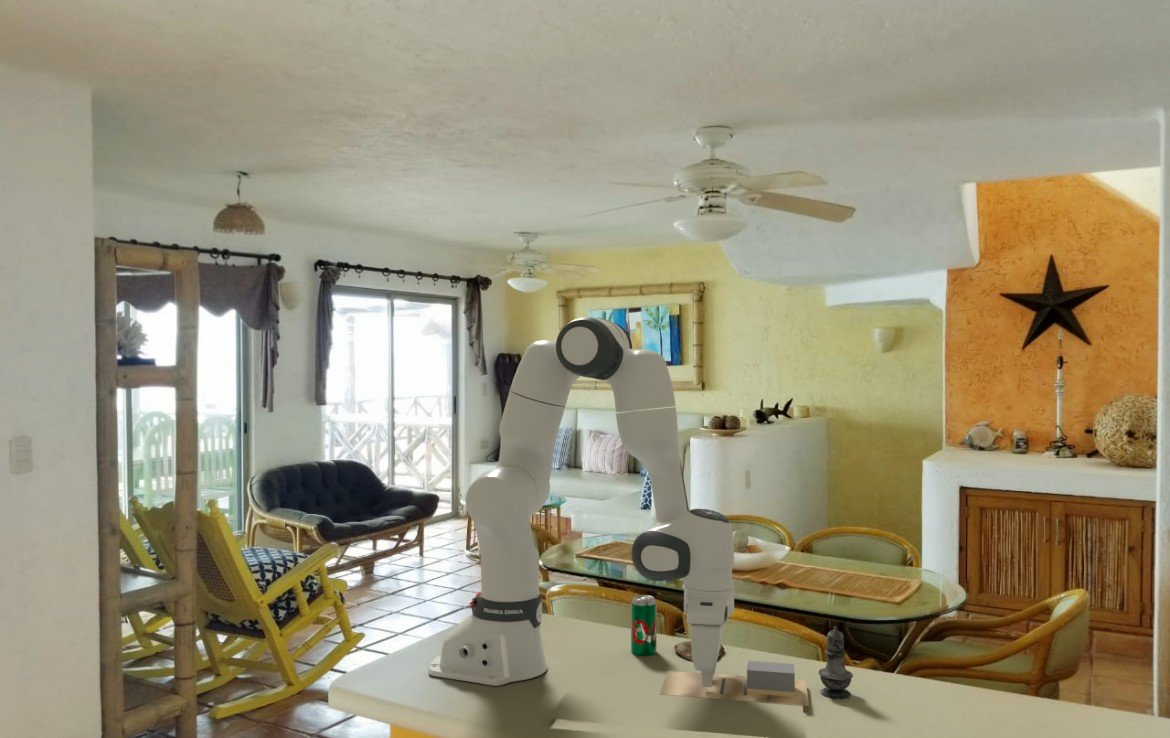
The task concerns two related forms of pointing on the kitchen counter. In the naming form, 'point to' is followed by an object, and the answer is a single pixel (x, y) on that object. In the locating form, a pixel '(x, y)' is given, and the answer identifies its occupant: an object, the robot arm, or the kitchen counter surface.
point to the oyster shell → (686, 650)
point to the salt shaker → (835, 668)
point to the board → (727, 689)
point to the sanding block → (771, 678)
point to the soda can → (643, 625)
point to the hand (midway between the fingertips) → (708, 679)
